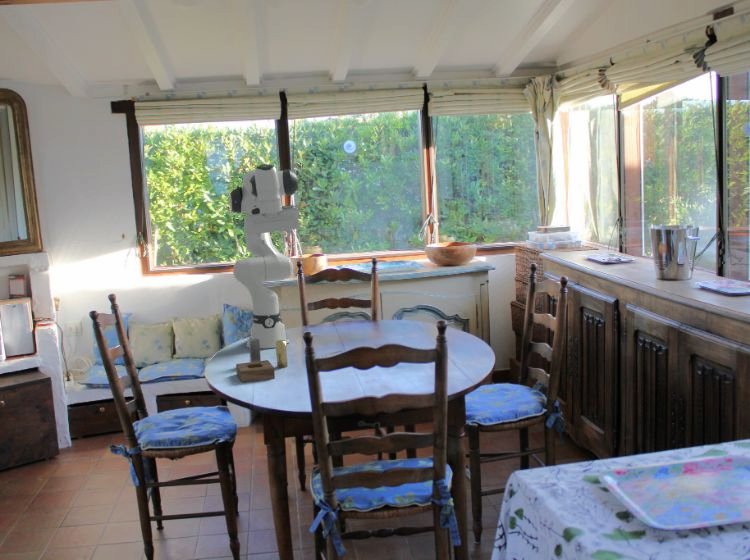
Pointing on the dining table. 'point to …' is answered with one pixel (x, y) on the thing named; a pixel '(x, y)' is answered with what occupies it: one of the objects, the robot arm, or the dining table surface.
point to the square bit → (254, 350)
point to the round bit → (281, 353)
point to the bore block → (255, 371)
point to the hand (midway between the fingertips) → (275, 243)
